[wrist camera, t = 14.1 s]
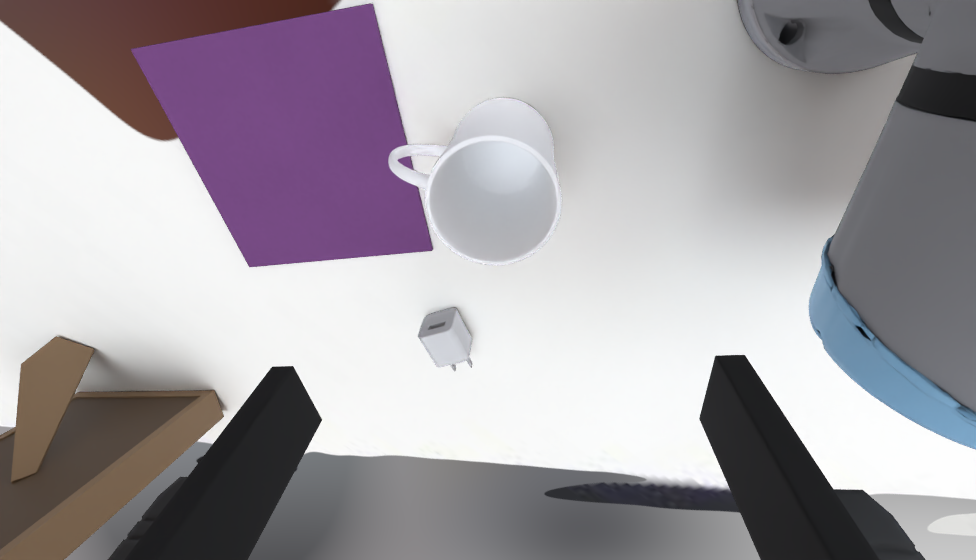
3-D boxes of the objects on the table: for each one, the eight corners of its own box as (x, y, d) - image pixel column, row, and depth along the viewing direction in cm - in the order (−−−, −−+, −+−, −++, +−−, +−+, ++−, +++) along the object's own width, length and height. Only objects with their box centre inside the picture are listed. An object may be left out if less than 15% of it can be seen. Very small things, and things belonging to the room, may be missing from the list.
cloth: (372, 3, 28) (370, 3, 27) (433, 249, 38) (432, 250, 38) (134, 48, 31) (130, 48, 30) (251, 265, 41) (249, 267, 41)
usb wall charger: (457, 306, 42) (451, 330, 39) (481, 351, 45) (477, 377, 42) (424, 315, 43) (416, 339, 40) (450, 358, 46) (444, 384, 43)
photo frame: (228, 410, 55) (48, 642, 34) (97, 411, 58) (-144, 625, 37) (172, 331, 48) (-106, 568, 27) (23, 336, 50) (-335, 554, 29)
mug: (407, 173, 34) (358, 232, 24) (426, 68, 30) (375, 87, 20) (532, 212, 35) (535, 284, 25) (570, 117, 31) (591, 159, 21)
